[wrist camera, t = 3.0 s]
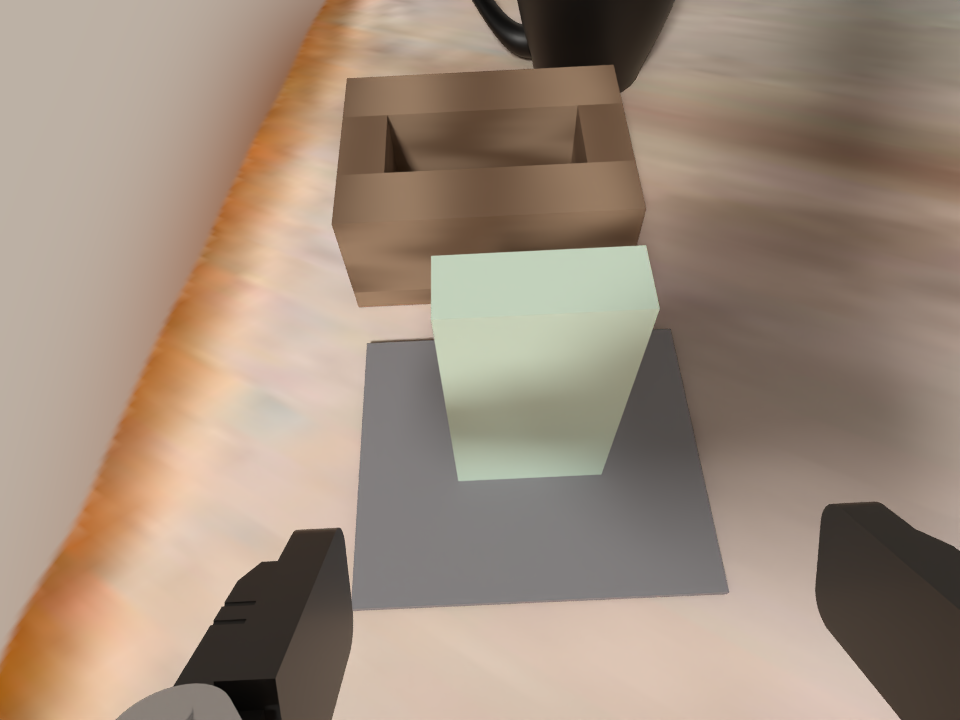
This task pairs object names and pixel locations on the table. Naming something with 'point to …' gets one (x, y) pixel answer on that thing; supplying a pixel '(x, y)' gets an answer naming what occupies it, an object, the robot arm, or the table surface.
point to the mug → (581, 32)
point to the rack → (479, 172)
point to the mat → (527, 502)
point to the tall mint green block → (539, 355)
